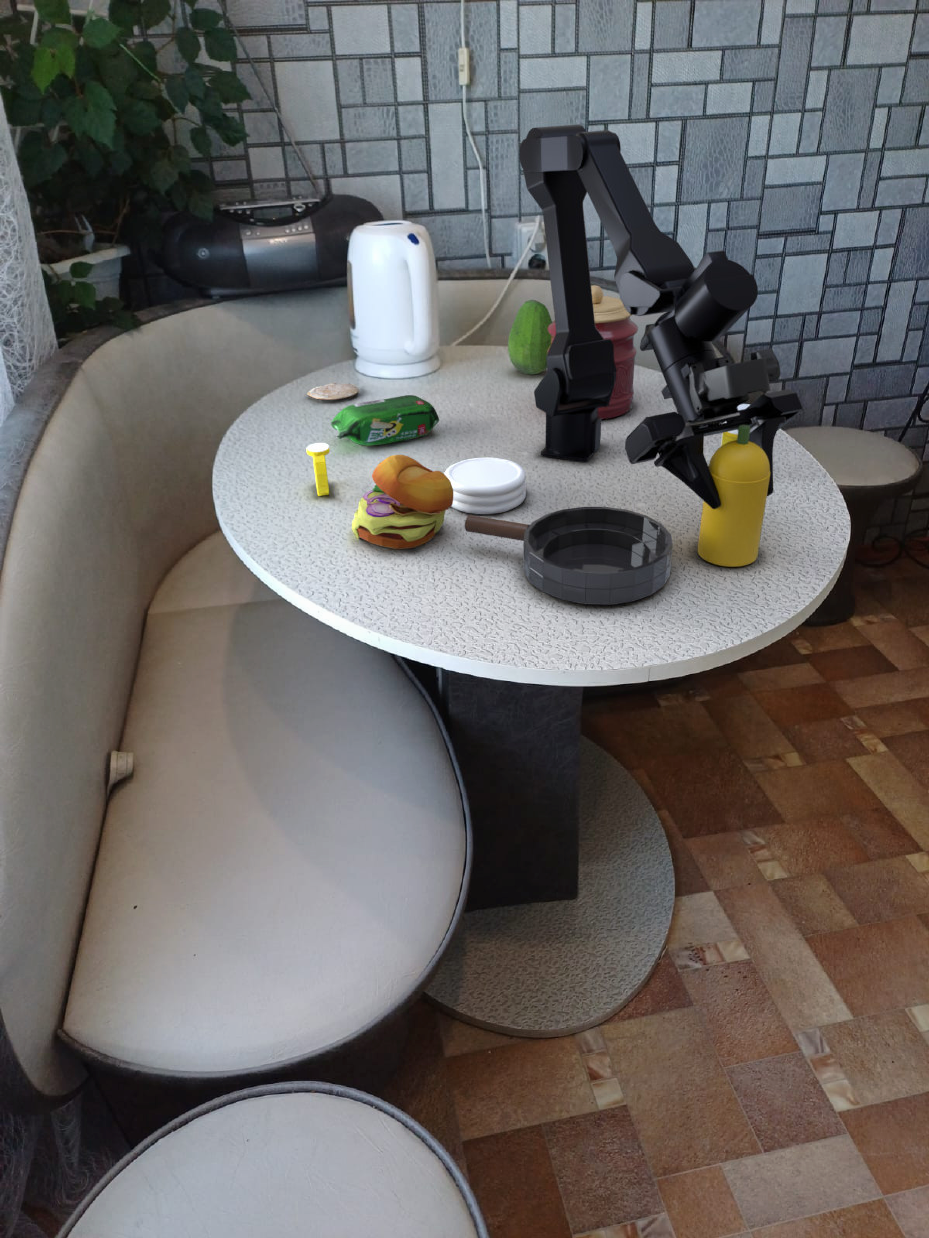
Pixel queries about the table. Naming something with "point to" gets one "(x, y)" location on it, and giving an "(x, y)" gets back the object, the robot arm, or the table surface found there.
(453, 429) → the table surface
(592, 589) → the dark grey frying pan
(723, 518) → the pepper
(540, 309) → the avocado
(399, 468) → the cheeseburger
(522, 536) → the handle
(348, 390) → the flatbread
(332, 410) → the table surface
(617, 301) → the kitchen canister
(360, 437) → the snack package
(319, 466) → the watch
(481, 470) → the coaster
